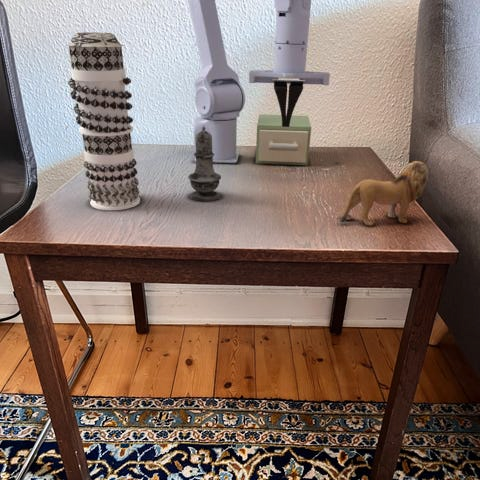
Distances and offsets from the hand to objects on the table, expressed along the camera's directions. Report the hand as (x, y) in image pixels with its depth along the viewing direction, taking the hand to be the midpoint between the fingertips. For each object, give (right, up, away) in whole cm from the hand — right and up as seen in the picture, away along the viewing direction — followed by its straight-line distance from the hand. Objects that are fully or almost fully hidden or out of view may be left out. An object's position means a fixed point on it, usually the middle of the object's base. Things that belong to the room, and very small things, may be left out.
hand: (285, 125), depth 89 cm
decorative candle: (-30, -17, -8) cm, 36 cm away
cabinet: (+1, +1, +20) cm, 20 cm away
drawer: (+1, 0, +16) cm, 16 cm away
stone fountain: (-15, -15, -5) cm, 22 cm away
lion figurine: (+14, -21, -13) cm, 29 cm away
